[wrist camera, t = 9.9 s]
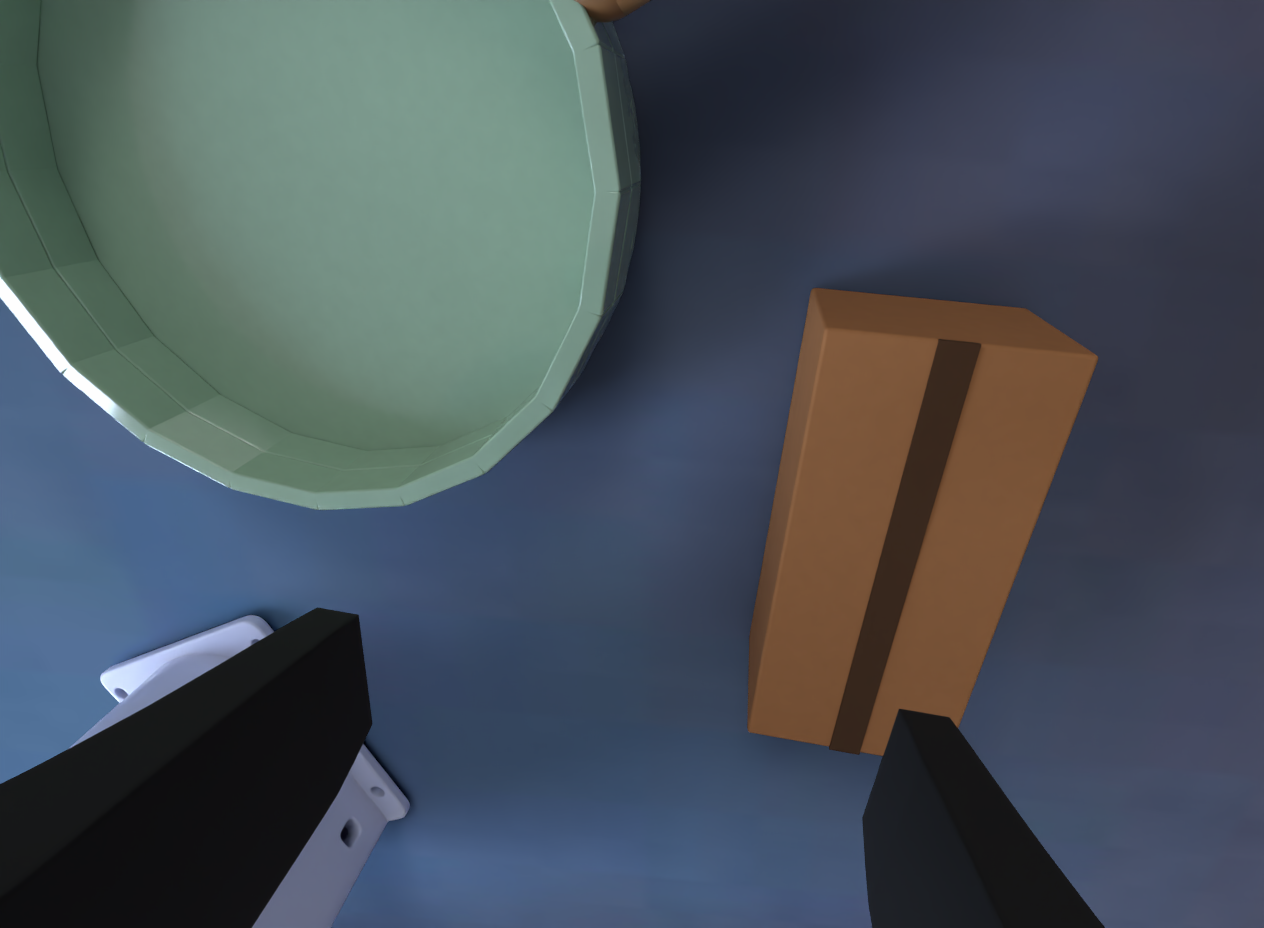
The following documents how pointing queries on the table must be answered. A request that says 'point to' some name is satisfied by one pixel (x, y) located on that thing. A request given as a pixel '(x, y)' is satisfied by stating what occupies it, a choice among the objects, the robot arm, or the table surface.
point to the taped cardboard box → (902, 508)
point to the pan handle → (610, 8)
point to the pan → (317, 226)
